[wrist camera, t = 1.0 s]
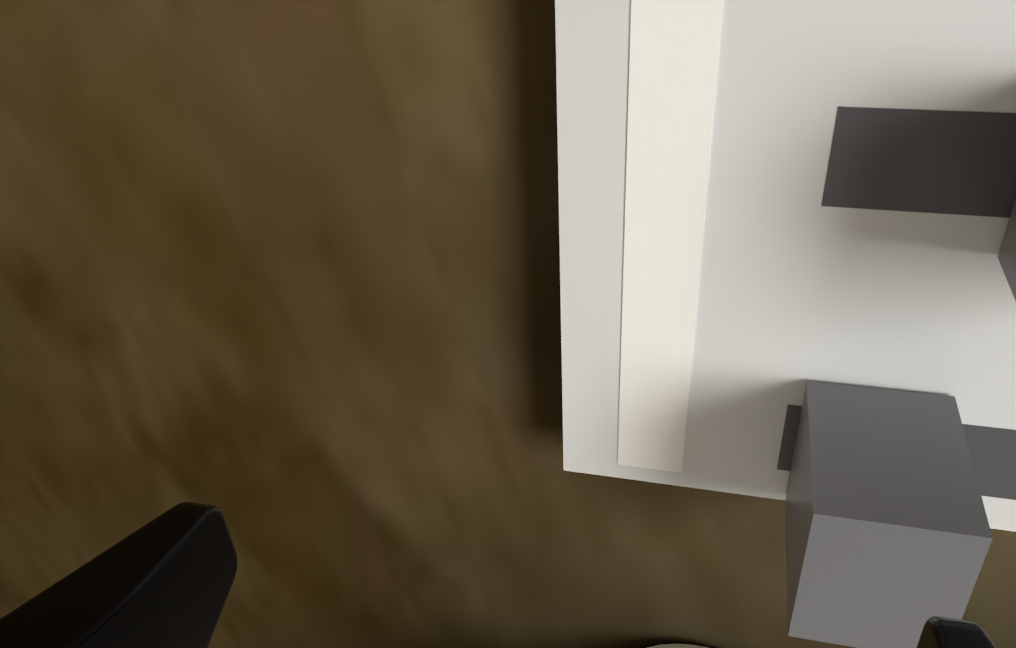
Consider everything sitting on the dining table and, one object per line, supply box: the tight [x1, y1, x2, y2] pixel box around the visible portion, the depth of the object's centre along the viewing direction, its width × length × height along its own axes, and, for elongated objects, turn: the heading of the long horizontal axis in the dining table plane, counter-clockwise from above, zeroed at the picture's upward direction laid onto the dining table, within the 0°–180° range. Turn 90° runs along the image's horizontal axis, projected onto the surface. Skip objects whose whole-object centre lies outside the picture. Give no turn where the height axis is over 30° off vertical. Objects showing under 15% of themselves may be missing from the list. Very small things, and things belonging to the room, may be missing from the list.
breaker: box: [785, 381, 993, 648], centre depth 18 cm, size 3×4×4 cm
